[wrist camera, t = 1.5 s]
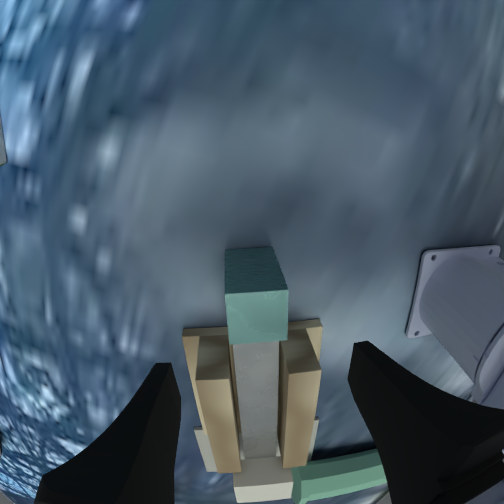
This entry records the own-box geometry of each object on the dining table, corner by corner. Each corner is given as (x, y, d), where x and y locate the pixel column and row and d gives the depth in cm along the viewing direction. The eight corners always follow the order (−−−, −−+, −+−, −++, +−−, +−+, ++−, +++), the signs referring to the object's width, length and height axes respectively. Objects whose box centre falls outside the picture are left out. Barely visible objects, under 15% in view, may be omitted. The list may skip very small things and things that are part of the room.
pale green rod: (479, 448, 26) (304, 505, 23) (454, 459, 30) (291, 506, 27) (469, 412, 31) (298, 455, 27) (445, 426, 35) (286, 463, 31)
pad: (318, 416, 27) (318, 419, 27) (309, 460, 31) (310, 462, 30) (194, 426, 27) (194, 430, 26) (207, 468, 30) (207, 471, 30)
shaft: (272, 246, 20) (288, 289, 15) (272, 454, 29) (278, 497, 24) (224, 249, 20) (224, 294, 15) (244, 456, 29) (248, 500, 23)
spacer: (288, 455, 24) (293, 481, 21) (286, 473, 25) (290, 497, 22) (232, 459, 23) (233, 487, 21) (235, 478, 25) (237, 502, 22)
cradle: (319, 318, 23) (341, 367, 18) (308, 418, 27) (320, 463, 22) (183, 328, 22) (174, 380, 17) (204, 426, 27) (203, 473, 22)
